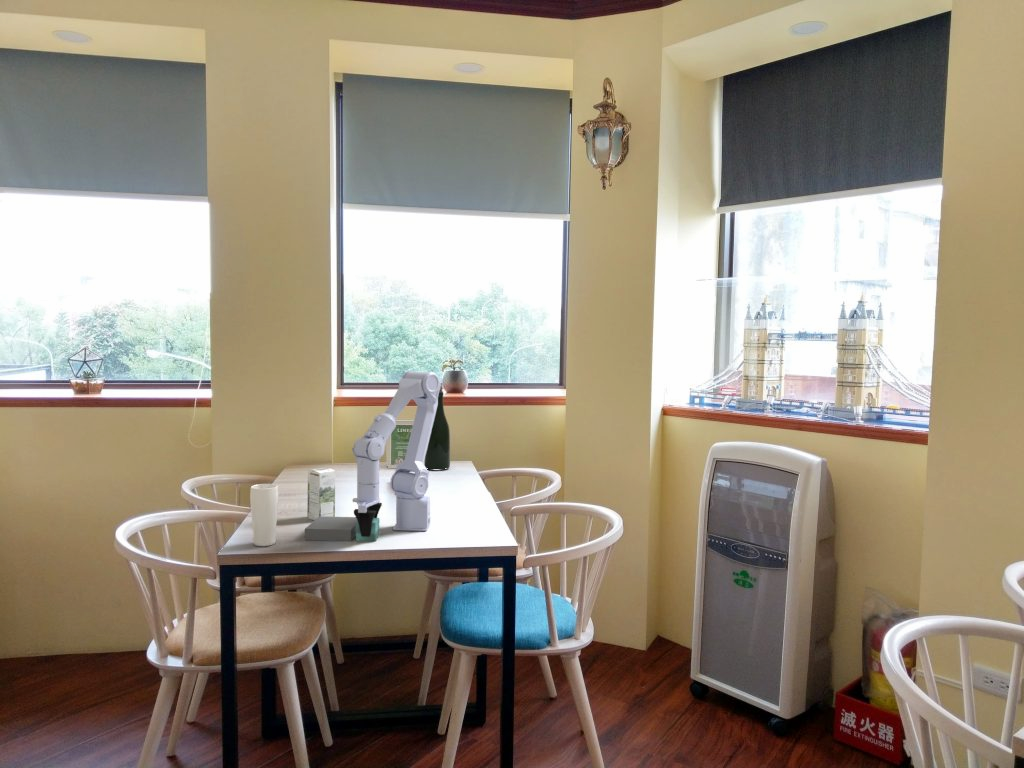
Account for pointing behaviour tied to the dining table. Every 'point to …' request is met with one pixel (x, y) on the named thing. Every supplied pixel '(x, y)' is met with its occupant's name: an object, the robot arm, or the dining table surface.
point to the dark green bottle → (439, 440)
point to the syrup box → (321, 493)
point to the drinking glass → (264, 513)
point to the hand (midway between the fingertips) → (368, 533)
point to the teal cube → (374, 532)
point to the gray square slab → (331, 529)
